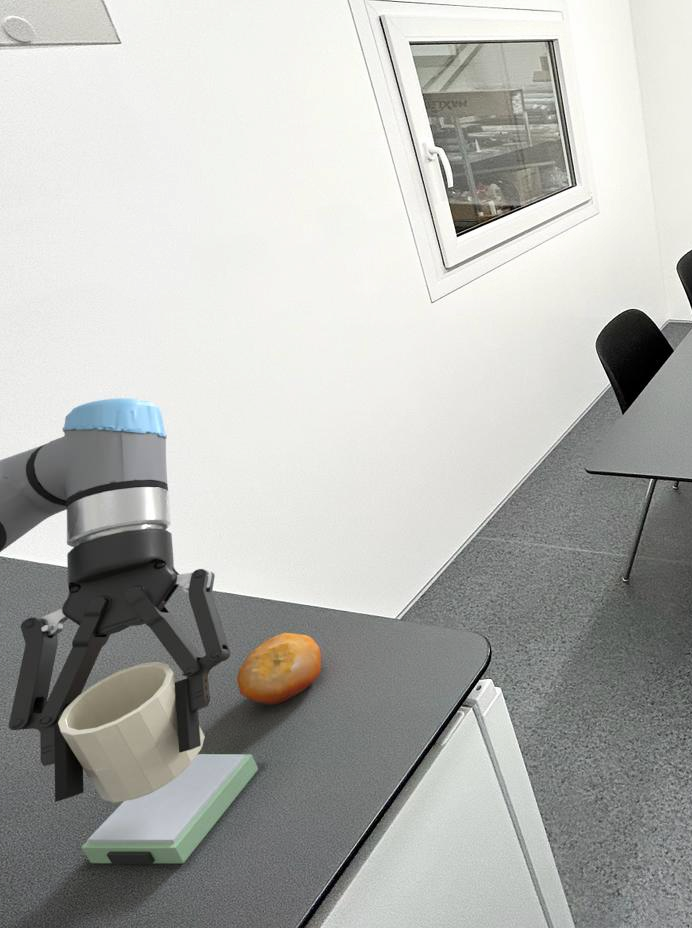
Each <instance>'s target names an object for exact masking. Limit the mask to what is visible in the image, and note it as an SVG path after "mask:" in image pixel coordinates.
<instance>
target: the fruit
mask: <svg viewBox="0 0 692 928" xmlns="http://www.w3.org/2000/svg"><path fill="white" fill-rule="evenodd" d="M321 670H322V652H321V649H320V647H319V645H318V644H317V643H316V641H315V640H314V638H312V637H310V636H309V635H306V634H299V633H293V632H283V633H279V634H277V635H275V636H273V637H271V638H269V639H267V640H265V641H264V642H262V643H261V644H260V645H258V647H255V648H254V650H253V651H251V652H250V653H249V654H248V656H247V657H246V659H245V660H244V661H243V662H242V664H241V666H240V668H239V669H238V672H237V676H236V682H237V686H238V692H239V693H240V694H241V695H242V696H243V697H245V698H247V699H248V700H250V701H253V702H257V703H261V704H265V705H269V706H276V705H279V704H281V703H284V702H286V701H288V700H289V699H291V698H293V697H294V696H297V695H298V694H300V693H301V692H303V691H304V690H306V689H307V688H308V687H309V686H311V685H312V684H313V683H314V682H315V681H316V680H317V678H318V677H319V675H320V673H321Z"/></svg>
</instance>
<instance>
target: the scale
mask: <svg viewBox="0 0 692 928" xmlns="http://www.w3.org/2000/svg"><path fill="white" fill-rule="evenodd" d="M258 771H259V767H258V766H257V763H256V761H255V759H254V756H253V754H249V753H247V754H242V753H241V754H240V753H239V754H238V753H237V754H233V753H232V754H231V753H230V754H229V753H227V754H226V753H225V754H223V753H222V754H221V753H219V754H218V753H217V754H215V753H214V754H213V753H206V754H205V753H198V754H197V755H196V757H195V758H194V760H193V761H192V762H191V764H190V765H189V766H188V767H187V768H186V769H185V770H184V771H183V772H182V773H181V774H180V775H179V776H177V777H176V778H175V779H174V780H172V781H171V782H169V783H168V784H166V785H165V786H163V787H162V788H160V789H158V790H156V791H154V792H152V793H150V794H148V795H145V796H143V797H140V798H137V799H133V800H128V801H122V802H121V804H120V805H119V806H117V808H116V809H115V810H114V811H113V812H112V813H111V814H110V815H109V816H108V817H107V818H106V820H104V822H103V823H102V824H100V826H99V827H97V828H96V830H95V831H94V832H93V833H92V834H91V835H90V836H89V837H88V838H87V841H86V842H85V843H84V844H83V845H82V846H81V850H82V851H83V853H84V854H85V856H86V858H87V859H88V861H89V862H90V863H91V864H112V865H113V864H114V865H117V864H118V865H119V864H121V865H122V864H125V865H126V864H127V865H128V864H129V865H133V864H134V865H135V864H136V865H139V864H140V865H142V864H144V865H147V864H148V865H149V864H150V865H152V864H184V863H185V862H186V861H187V860H188V858H189V857H190V856H191V855H192V853H193V852H194V851H195V850H196V848H197V847H198V846H199V845H200V843H201V842H202V841H203V840H204V838H205V837H206V836H207V834H208V833H209V832H210V831H211V830H212V829H213V827H214V826H215V825H216V823H217V822H218V821H219V820H220V819H221V817H222V816H223V815H224V813H225V812H226V811H227V809H229V807H230V805H231V804H232V803H233V802H234V801H235V800H236V798H237V797H238V796H239V794H240V793H241V792H242V790H243V789H244V788H245V787H246V786H247V784H249V782H250V781H251V780H252V778H253V777H254V775H255V774H256V773H257V772H258Z"/></svg>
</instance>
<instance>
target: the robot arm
mask: <svg viewBox="0 0 692 928" xmlns="http://www.w3.org/2000/svg"><path fill="white" fill-rule="evenodd" d="M64 418H65V419H64V424H63V427H62V429H61V430H62V433H63V434H64V436H62V437H58V438H56V439H53V440H50V441H49V442H47V443H44V444H43V445H39V446H37V447H34V448H31V449H28V450H26V451H25V450H24V451H22V452H19V453H17V454H13V455H11V456H8V457H5V458H2V459H0V553H1V552H3V551H4V550H5V549H6V548H9V546H11V545H12V544H13V543H15V542H17V541H18V540H19V539H20V538H22V537H23V536H25V535H26V534H28V533H29V532H30V531H31V530H33V529H34V528H35V527H37V526H38V525H39V524H41V523H42V522H44V521H45V520H47V519H48V518H50V517H53V516H55V515H57V514H59V513H62V512H64V511H66V545H68V546H69V547H72V548H71V549H70V551H69V552H67V554H66V557H67V559H66V560H67V563H66V564H67V588H68V595H67V598H66V600H65V601H64V603H63V604H62V607H61V608H59V609H56V610H54V611H52V612H49V613H47V614H45V615H42V616H39V617H29V618H26V619H24V620H23V621H22V622H21V624H20V630H21V633H22V634H21V635H22V636H23V640H24V643H25V644H24V646H25V647H24V649H23V655H22V660H21V665H20V670H19V674H18V678H17V684H16V688H15V692H14V693H15V694H14V698H13V702H12V703H13V704H12V707H11V712H10V717H9V721H8V728H9V730H11V731H19V730H20V731H21V730H22V731H23V730H37V731H39V735H40V741H39V743H40V745H39V746H40V763H41V764H42V766H43V767H46V766H52V765H54V802H55V803H57V802H60V801H63V800H66V799H69V798H73V797H75V796H78V795H80V794H83V793H84V792H85V790H84V769H83V767H82V766H81V764H80V762H79V761H78V759H77V758H76V756H75V754H74V753H73V751H72V749H71V748H70V746H69V745H68V743H67V741H66V740H65V738H64V736H63V735H62V733H61V731H60V728H59V725H58V721H59V719H60V718H61V716H62V714H63V712H64V710H65V709H66V708H67V707H68V706H69V705H70V704H71V703H72V702H73V701H74V700H75V699H76V698H77V697H78V696H79V695H80V694H81V693H83V691H84V688H85V686H86V683H87V682H88V679H89V677H90V675H91V673H92V670H93V669H94V666H95V664H96V662H97V659H98V657H99V655H100V652H101V650H102V648H103V647H104V646H106V644H107V643H108V641H109V639H110V636H111V635H114V634H116V633H119V632H122V631H124V630H125V629H128V628H129V627H134V626H142V625H146V626H147V627H149V628H150V630H151V631H152V633H153V634H154V635H155V636H156V638H157V639H158V640H159V642H160V643H161V644H162V646H163V647H164V648H165V650H166V651H167V653H168V654H169V655H170V657H171V658H172V659H173V661H174V662H175V663H176V665H177V666H178V667H179V669H180V670H181V671H182V673H181V675H182V676H183V677H186V678H183V679H181V680H177V681H178V682H175V698H176V713H177V728H178V742H179V753H180V752H184V751H188V750H191V749H194V748H196V747H199V746H201V742H200V729H199V726H200V719H199V716H200V715H199V710H201V709H205V708H207V707H209V705H210V701H211V696H210V682H209V674H210V671H212V669H213V668H214V667H216V666H218V665H220V664H221V663H222V662H225V661H227V660H228V659H229V658H230V656H231V653H232V652H231V649H230V646H229V642H228V639H227V636H226V632H225V630H224V627H223V623H222V620H221V617H220V613H219V610H218V608H217V607H218V606H217V604H216V600H215V597H214V594H213V590H214V589H213V588H214V582H215V573H214V572H213V571H210V570H207V569H204V568H199V569H196V570H194V571H192V572H188V573H179V572H178V571H177V570H176V569H175V566H174V565H175V563H174V549H173V536H172V532H170V531H168V530H167V529H168V528H169V527H170V526H171V509H170V492H169V486H168V471H167V437H168V436H167V434H166V432H165V426H164V425H165V424H164V420H163V415H162V411H161V409H160V408H159V406H157V405H156V404H154V403H152V402H150V401H147V400H142V399H138V398H105V399H100V400H93V401H90V402H85V403H83V404H80V405H78V406H76V407H74V408H72V410H71V411H70V412H69V413H67V415H66V416H65V417H64ZM179 586H181V590H182V592H184V594H185V593H186V594H188V599H189V603H190V606H191V610H192V613H193V617H194V619H195V623H196V626H197V630H198V632H199V636H200V639H201V640H200V641H201V643H202V646H203V651H204V653H205V655H204V656H202V654H201V653H200V652H199V650H198V649H197V648H196V646H195V645H194V644H193V642H192V640H191V639H190V638H189V636H188V635H187V634H186V632H185V631H184V630H183V628H182V627H181V626H180V625H179V624H178V622H177V621H176V618H175V616H174V614H173V613H172V612H171V610H170V609H169V608H168V606H167V604H168V602H169V600H170V599H171V598H172V596H173V595H174V593H175V592H176V590H177V589H178V587H179ZM68 619H69V620H70V621H72V622H73V623H75V624H76V625H77V626H78V629H77V631H76V632H75V635H74V636H73V639H72V642H71V649H70V652H69V654H68V656H67V658H66V659H65V662H64V664H63V666H62V668H61V671H60V673H59V674H58V677H57V679H56V681H55V684H54V686H53V688H52V690H51V692H50V686H51V681H52V677H53V671H54V667H55V661H56V656H57V650H58V644H59V638H58V637H59V636H58V635H59V634H60V633H61V632H62V631H63V629H64V624H65V622H66V621H67V620H68ZM49 692H50V693H49Z"/></svg>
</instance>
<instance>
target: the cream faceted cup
mask: <svg viewBox="0 0 692 928" xmlns="http://www.w3.org/2000/svg"><path fill="white" fill-rule="evenodd" d="M178 681H179V680H178V679H177V677H176V675H175V673H174V671H173V670H172V668H171V666H170V664H167V663H165V662H160V661H153V662H144V663H138V664H136V665H133V666H130V667H127V668H124V669H121V670H119V671H116V672H114V673H112V674H110V675H109V676H107V677H105V678H103V679H100V680H98V681H97V682H95V683H94V684H93V685H92V686H90V687H88V688H87V689H86V690H83V691H82V693H81V694H80V695H79V696H78V697H77V698H76V699H75V700H74V701H73V702H72V703H71V704H70V705H69V706H68V707H67V708H66V709H65V710H64V712H63V714H62V716H61V718H60V719H59V721H58V725H59V728H60V731H61V733H62V735H63V736H64V738H65V740H66V741H67V743H68V745H69V746H70V748H71V749H72V751H73V753H74V754H75V756H76V758H77V759H78V761H79V762H80V764H81V766H82V767H83V772H85V774H86V776H87V777H88V779H89V781H90V782H91V784H92V785H93V787H94V788H95V790H96V792H97V793H98V795H99V797H100V798H101V799H102V800H104V801H107V802H110V803H113V804H115V803H123V802H124V801H128V800H133V799H137V798H140V797H143V796H145V795H148V794H150V793H152V792H154V791H156V790H158V789H160V788H162V787H163V786H165V785H166V784H168V783H169V782H171V781H172V780H174V779H175V778H176V777H177V776H179V775H180V774H181V773H182V772H183V771H184V770H185V769H186V768H187V767H188V766H189V765H190V764H191V762H192V761H193V760H194V758H195V757H196V755H197V754H200V751H201V750H202V749H203V744H204V741H205V733H204V732H203V729H202V727H201V726H200V725H199V729H200V742H201V746H199V747H196V748H194V749H191V750H188V751H184V752H180V753H179V742H178V728H177V713H176V698H175V682H178Z"/></svg>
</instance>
